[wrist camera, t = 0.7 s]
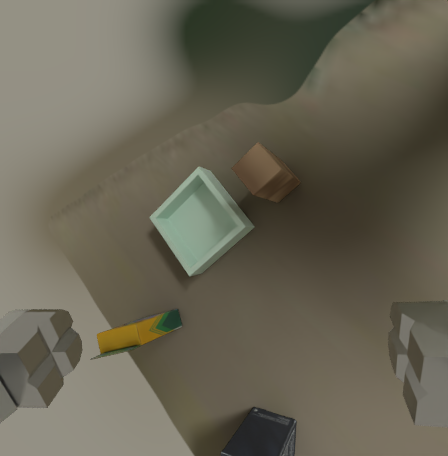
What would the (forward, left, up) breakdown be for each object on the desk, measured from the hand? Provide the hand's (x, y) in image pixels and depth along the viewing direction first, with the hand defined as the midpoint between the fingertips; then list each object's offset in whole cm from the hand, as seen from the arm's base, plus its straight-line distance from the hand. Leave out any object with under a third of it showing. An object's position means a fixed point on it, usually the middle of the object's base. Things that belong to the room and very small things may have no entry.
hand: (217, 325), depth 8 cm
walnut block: (0, -12, -35) cm, 37 cm away
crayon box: (+28, -8, -36) cm, 46 cm away
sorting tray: (+12, -15, -35) cm, 40 cm away
